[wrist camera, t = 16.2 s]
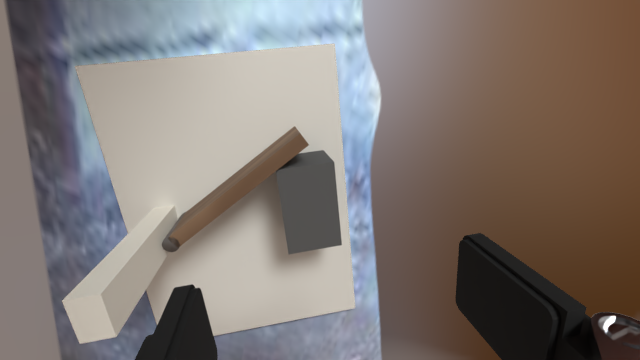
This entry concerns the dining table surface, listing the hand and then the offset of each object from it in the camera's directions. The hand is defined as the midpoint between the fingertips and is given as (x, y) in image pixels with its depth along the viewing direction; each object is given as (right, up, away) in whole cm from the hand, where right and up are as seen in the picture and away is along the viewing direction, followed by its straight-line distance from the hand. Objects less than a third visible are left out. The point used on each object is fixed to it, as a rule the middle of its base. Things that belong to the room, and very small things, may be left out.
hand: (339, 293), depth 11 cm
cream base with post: (-9, +1, +22) cm, 24 cm away
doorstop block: (-2, +3, +21) cm, 22 cm away
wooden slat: (-9, +4, +19) cm, 22 cm away
